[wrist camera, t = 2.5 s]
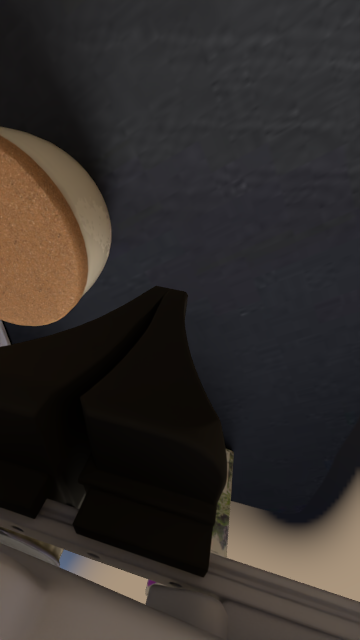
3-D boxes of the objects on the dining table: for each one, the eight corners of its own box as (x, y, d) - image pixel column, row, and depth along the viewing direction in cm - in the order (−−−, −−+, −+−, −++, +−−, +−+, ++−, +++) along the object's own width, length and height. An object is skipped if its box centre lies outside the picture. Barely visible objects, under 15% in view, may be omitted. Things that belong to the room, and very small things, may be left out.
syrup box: (177, 451, 37) (141, 597, 25) (194, 431, 33) (161, 592, 22) (215, 467, 37) (196, 620, 25) (235, 450, 33) (224, 618, 22)
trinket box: (102, 101, 16) (-35, 74, 8) (151, 268, 21) (94, 342, 14) (-26, 146, 19) (-207, 156, 12) (45, 280, 25) (-46, 345, 17)
